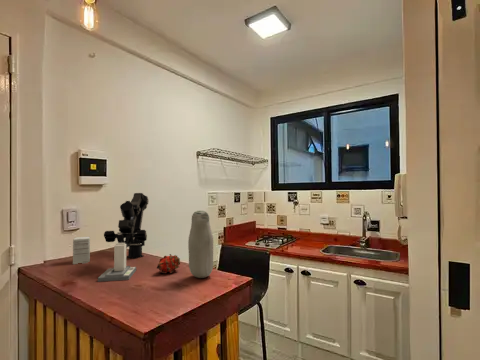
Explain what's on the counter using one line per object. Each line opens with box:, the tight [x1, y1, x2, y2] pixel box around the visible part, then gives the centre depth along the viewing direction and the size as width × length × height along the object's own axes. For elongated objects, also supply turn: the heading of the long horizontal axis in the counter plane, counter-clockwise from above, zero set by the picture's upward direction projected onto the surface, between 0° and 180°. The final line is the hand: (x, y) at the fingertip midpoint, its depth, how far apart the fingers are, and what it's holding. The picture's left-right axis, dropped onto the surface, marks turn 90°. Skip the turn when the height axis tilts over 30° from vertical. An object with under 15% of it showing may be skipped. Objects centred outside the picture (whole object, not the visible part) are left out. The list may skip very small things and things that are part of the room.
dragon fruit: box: [156, 253, 181, 274], centre depth 122 cm, size 8×8×12 cm
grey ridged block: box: [72, 236, 91, 265], centre depth 142 cm, size 7×7×13 cm
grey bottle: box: [187, 210, 214, 279], centre depth 116 cm, size 10×10×28 cm
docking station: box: [97, 265, 137, 283], centre depth 118 cm, size 14×12×2 cm
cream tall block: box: [113, 242, 127, 271], centre depth 122 cm, size 4×4×12 cm
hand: (122, 250), depth 125 cm, fingers closed
